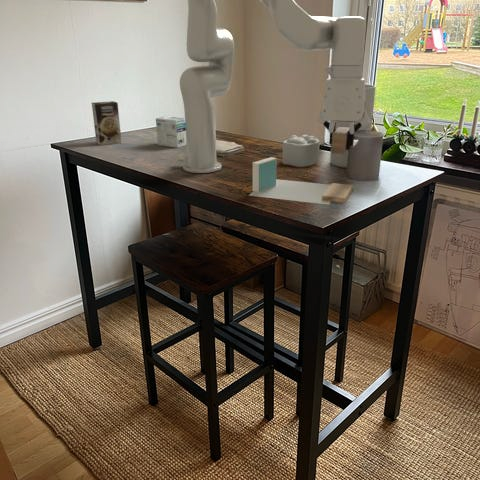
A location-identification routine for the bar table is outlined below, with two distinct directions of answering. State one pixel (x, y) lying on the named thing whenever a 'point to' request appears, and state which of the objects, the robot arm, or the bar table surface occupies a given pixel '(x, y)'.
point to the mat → (295, 191)
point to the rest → (337, 192)
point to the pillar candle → (365, 156)
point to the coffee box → (106, 122)
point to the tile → (264, 174)
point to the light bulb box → (171, 131)
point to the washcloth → (227, 148)
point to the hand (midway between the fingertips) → (341, 147)
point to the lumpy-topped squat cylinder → (301, 151)
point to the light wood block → (340, 140)
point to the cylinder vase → (342, 159)
